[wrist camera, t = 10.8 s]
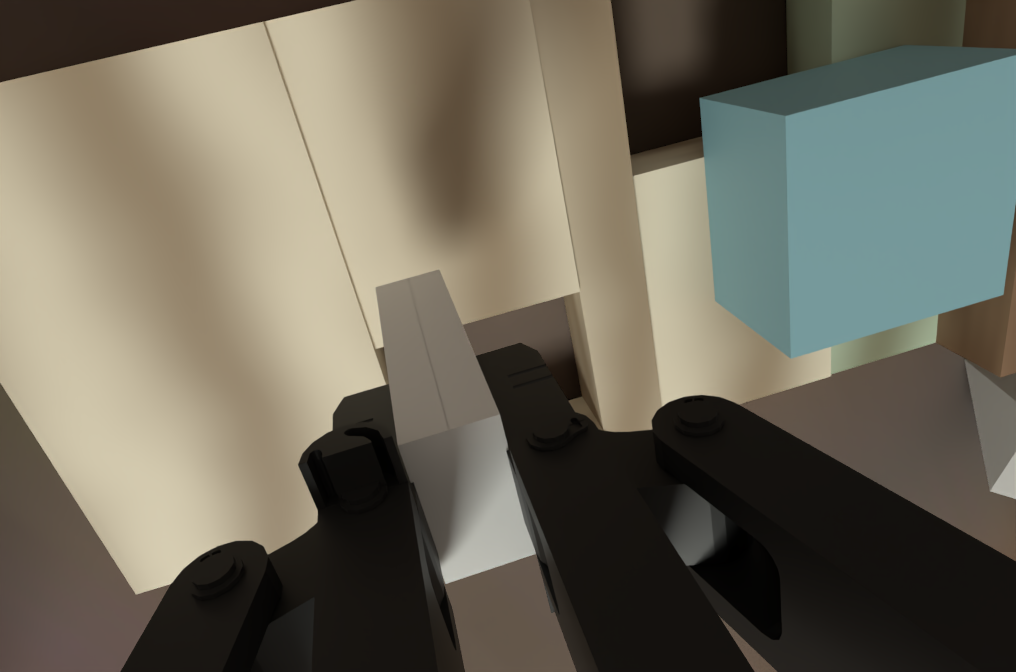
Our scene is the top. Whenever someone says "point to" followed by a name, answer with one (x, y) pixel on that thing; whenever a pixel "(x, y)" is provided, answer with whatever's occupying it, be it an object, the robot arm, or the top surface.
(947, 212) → the block
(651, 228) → the trap board
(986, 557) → the robot arm
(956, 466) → the top surface
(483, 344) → the top surface
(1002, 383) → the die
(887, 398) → the top surface
